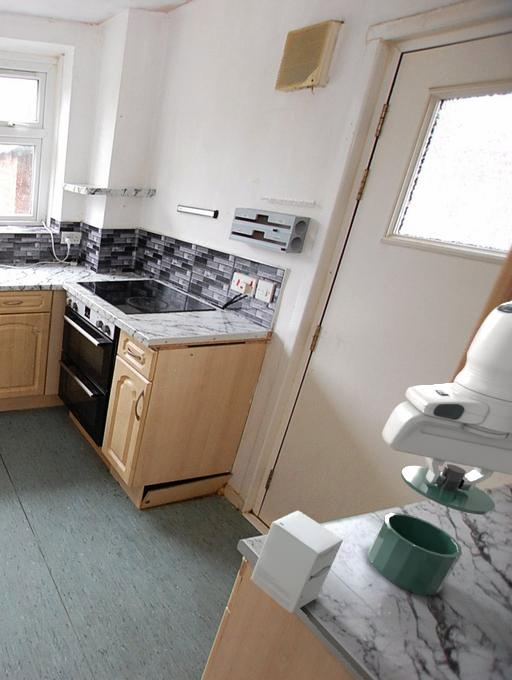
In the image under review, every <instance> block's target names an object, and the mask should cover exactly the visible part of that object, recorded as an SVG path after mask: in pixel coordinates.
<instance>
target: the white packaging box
mask: <svg viewBox="0 0 512 680" xmlns="http://www.w3.org/2000/svg"><path fill="white" fill-rule="evenodd" d="M343 541H344V539H343V538H342V537H340V536H339V535H337V534H336V533H335V532H333V531H332V530H331V529H328V528H326V527H325V526H323V525H322V524H321V523H319V522H317V521H316V520H314V519H313V518H311V517H309V516H308V515H306V514H305V513H303V512H302V511H300V510H295V511H293V512H291V513H288V514H287V515H284V516H282V517H281V518H278V519H276V520H274V521H272V522H271V525H270V527H269V530H268V533H267V535H266V538H265V541H264V543H263V545H262V548H261V551H260V554H259V556H258V559H257V561H256V564H255V566H254V570H253V571H252V574H251V577H250V581H251V582H253V583H254V584H255V585H256V586H257V587H258V588H259V589H261V590H262V591H263V592H264V593H265V594H267V595H268V596H269V597H270V598H271V599H273V600H274V601H275V602H276V603H277V604H278V605H280V606H281V607H282V608H283V609H284V610H285V611H286V612H288V613H289V614H291V615H292V614H294V613H295V612H297V611H298V610H299V609H301V608H302V607H304V606H306V605H307V604H308V603H310V602H313V601H314V600H316V599H318V596H319V594H320V593H321V589H322V588H323V586H324V583H325V581H326V579H327V577H328V575H329V573H330V571H331V568H332V567H333V563H334V562H335V559H336V557H337V555H338V553H339V550H340V548H341V545H342V543H343Z"/></svg>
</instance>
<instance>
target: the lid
mask: <svg viewBox="0 0 512 680" xmlns="http://www.w3.org/2000/svg"><path fill="white" fill-rule="evenodd" d="M428 470H429V468H428V467H426V466H420V465H411V466H406V467H404V468H403V469H402V471H401V474H400V476H401V479H402V480H403V481H404V483H405V484H406V485H407V486H408V487H409V488H411V489H412V490H413V491H415V492H416V493H418V494H419V495H421V496H423V497H425V498H427V499H428V500H430V501H432V502H433V503H436V504H440V505H442V506H444V507H446V508H449V509H452V510H455V511H458V512H462V513H466V514H472V515H480V516H481V515H489V514H491V513H493V512H494V510H495V508H496V503H495V501H494V500H493V498H492V497H490V496H489V494H487V493H486V492H485V491H484V490H482V489H480V488H479V487H477V486H476V485H475V487H474V489H473V491H472V492H470V491H466V490H461V489H458V488H459V486H460V484H461V482H462V480H463V478H464V476H465V475H466V474H467V471H466V470H465V469H464V468H462V467H460V466H458V465H455V464H452V463H451V464H450V463H447V464H445V465H444V467H443V470H440V471H441V472H442V474H444V475H445V476H446V479H445V480H444V481H443V484H442V485H439V484H434V483H430V482H429V481H428V480H427V479H426V475H427V472H428Z"/></svg>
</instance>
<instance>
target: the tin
mask: <svg viewBox="0 0 512 680" xmlns="http://www.w3.org/2000/svg"><path fill="white" fill-rule="evenodd" d="M462 554H463V551H462V546H461V545H460V544H459V542H457V540H456V538H454V537H453V536H452V535H450V534H448V532H446V530H444V529H442V528H440V527H438V526H437V525H435V524H434V523H431V522H430V521H428V520H424V519H422V518H419V517H417V516H414V515H411V514H406V513H403V512H390V513H388V514H386V515H385V516H384V518H383V520H382V522H381V525H380V526H379V528H378V531H377V532H376V535H375V536H374V539H373V540H372V543H371V545H370V547H369V550H368V552H367V559H368V561H369V563H370V564H371V566H372V567H373V568H374V569H375V570H376V571H377V572H378V573H379V574H381V576H382V577H384V578H385V579H387V580H388V581H389V582H391V583H393V584H394V585H396V586H398V587H399V588H402V589H404V590H406V591H408V592H411V593H415V594H418V595H423V596H435V595H437V594H439V593H440V592H441V590H442V589H443V588H444V586H445V584H446V583H447V581H448V579H449V577H450V575H451V574H452V572H453V570H454V568H456V565H457V563H458V561H459V560H460V558H461V556H462Z"/></svg>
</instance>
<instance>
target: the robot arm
mask: <svg viewBox="0 0 512 680" xmlns="http://www.w3.org/2000/svg"><path fill="white" fill-rule="evenodd" d="M405 398H406V399H407V401H403V402H401V403H398V405H397V406H396V407H394V409H393V410H392V412H391V413H390V415H389V417H388V419H387V421H386V423H385V425H384V427H383V430H382V432H381V436H382V438H383V440H384V442H385V443H386V444H387V445H388V447H389V448H390V449H391V450H393V451H395V452H400V453H405V454H410V455H415V456H420V457H424V458H425V462H426V464H427V468H429V470H428V472H427V475H426V479H427V480H428V481H429V482H430V483H434V484H439V485H442V484H443V481H444V480H445V479H446V476H445V475H444V474H442V472H441V471H442V470H440V468H439V466H440V467H443V466H444V463H445V462H447V463H451V464H458V465H462V466H467V467H472V468H473V469H472V470H471V471H469V472H467V473H466V474H465V476H464V478H463V480H462V482H461V484H460V486H459V488H458V489H461V490H466V491H470V492H472V491H473V489H474V487H475V486H476V485H478V484H479V483H481V482H484V481H485V480H487V479H490V478H491V477H492V476H493V474H494V472H495V473H499V474H500V473H501V474H505V475H510V476H512V300H511V301H507V302H504V303H501V304H499V305H497V306H496V307H495V308H493V310H492V311H491V312H490V313H489V314H488V315H487V316H486V317H485V319H484V320H483V322H482V324H481V325H480V327H479V329H478V330H477V332H476V334H475V336H474V337H473V339H472V341H471V344H470V346H469V347H468V350H467V352H466V361H465V365H464V367H463V368H462V370H461V371H459V373H458V374H457V375H456V376H455V377H454V380H453V382H449V383H441V384H429V385H426V384H425V385H413V386H409V387H408V388H407V389H406V391H405Z"/></svg>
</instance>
